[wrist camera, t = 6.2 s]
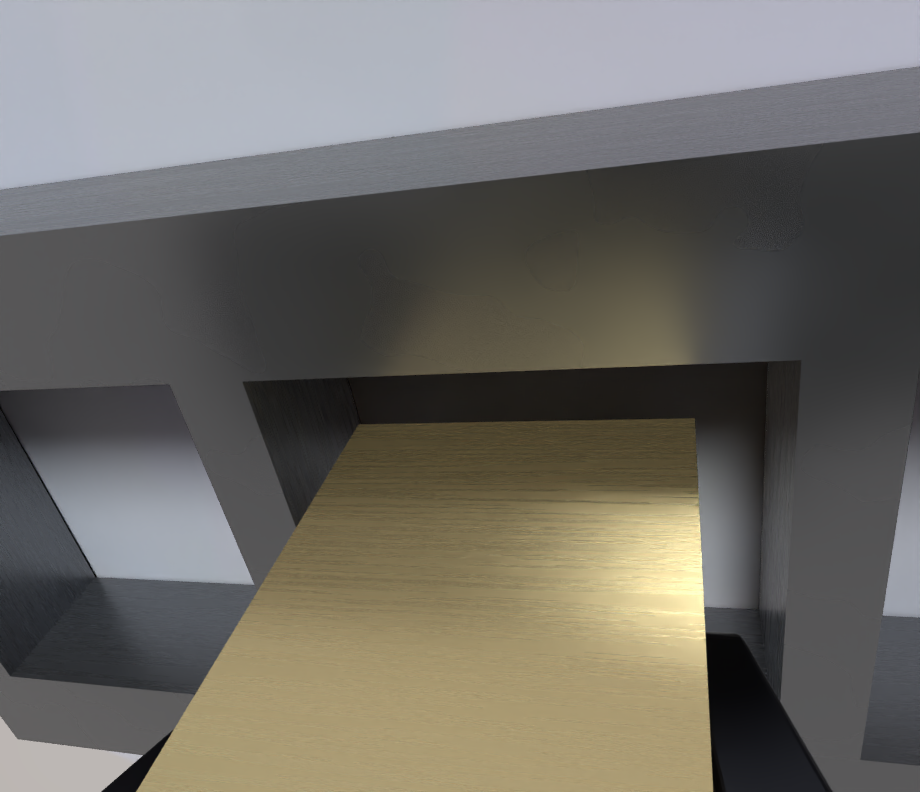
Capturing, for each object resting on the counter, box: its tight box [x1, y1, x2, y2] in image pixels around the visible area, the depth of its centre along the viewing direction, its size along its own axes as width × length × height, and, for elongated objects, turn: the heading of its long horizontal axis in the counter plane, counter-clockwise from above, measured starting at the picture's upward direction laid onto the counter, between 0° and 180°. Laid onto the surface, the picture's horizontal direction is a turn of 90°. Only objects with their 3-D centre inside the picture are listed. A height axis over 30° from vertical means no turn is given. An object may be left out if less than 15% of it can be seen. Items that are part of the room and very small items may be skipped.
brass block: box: [136, 418, 713, 792], centre depth 7 cm, size 4×4×6 cm
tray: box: [0, 67, 920, 792], centre depth 10 cm, size 22×10×2 cm, turn 99°
